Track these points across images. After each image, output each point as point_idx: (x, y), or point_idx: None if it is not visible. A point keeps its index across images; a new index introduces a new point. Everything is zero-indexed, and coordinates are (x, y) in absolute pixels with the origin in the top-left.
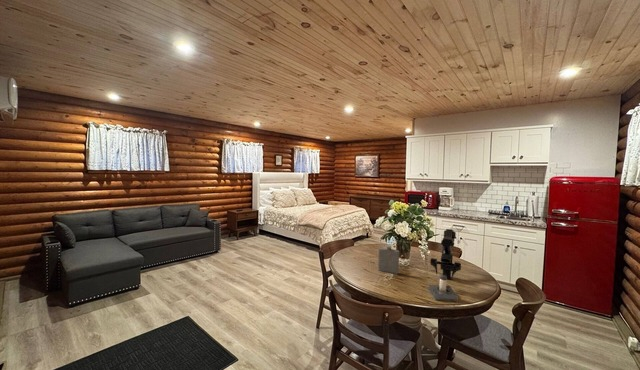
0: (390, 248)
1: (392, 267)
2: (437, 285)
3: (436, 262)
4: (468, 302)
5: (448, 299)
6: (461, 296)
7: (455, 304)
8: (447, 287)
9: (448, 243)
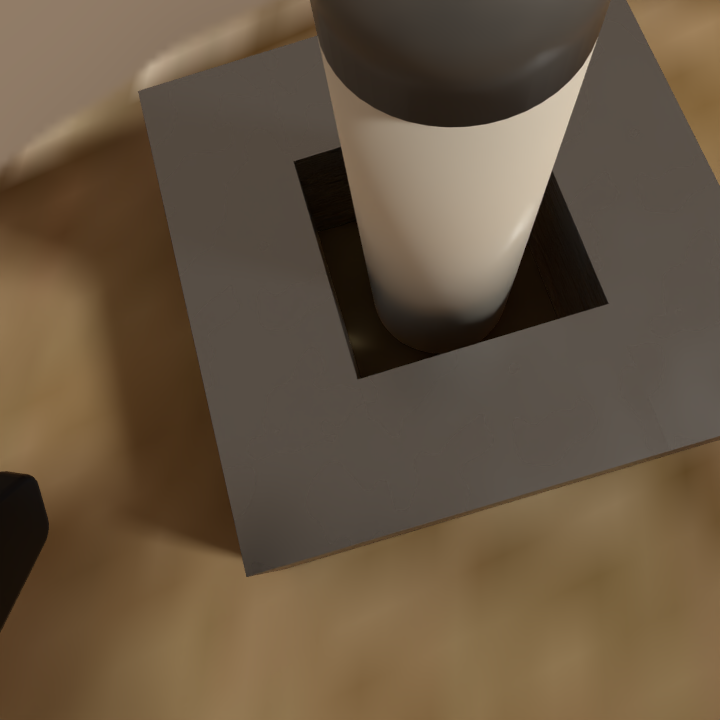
0: None
1: None
2: (582, 437)
3: None
4: (4, 213)
5: None
6: (66, 417)
7: (238, 49)
8: (312, 416)
9: None
